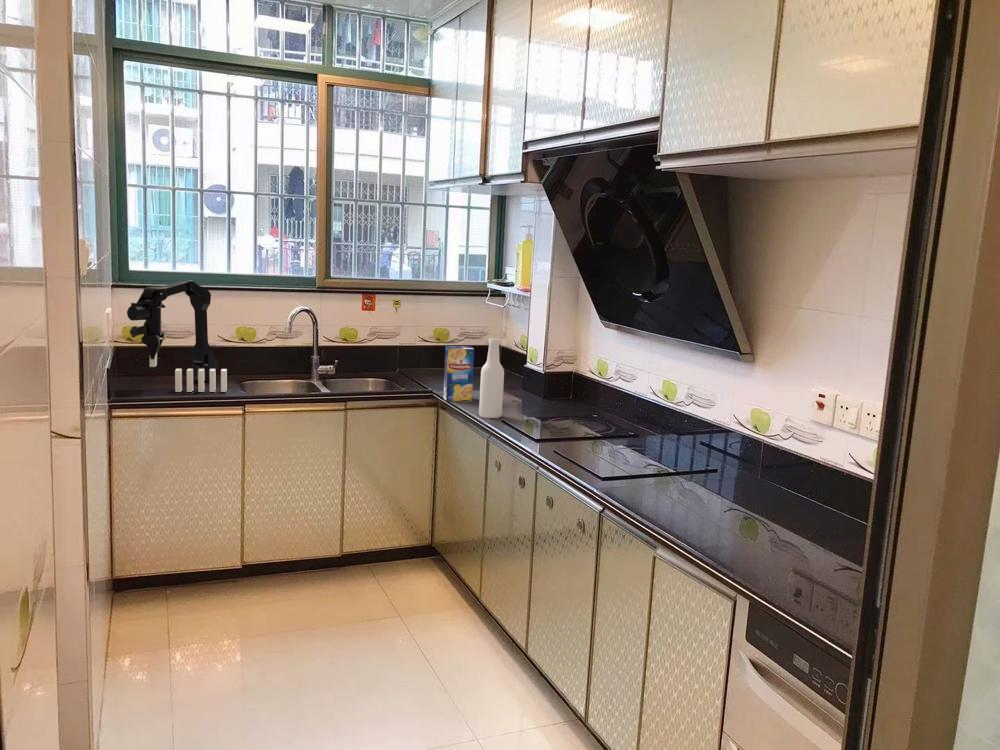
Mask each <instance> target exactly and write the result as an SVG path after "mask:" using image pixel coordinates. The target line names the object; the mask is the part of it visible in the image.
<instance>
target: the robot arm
mask: <svg viewBox="0 0 1000 750" xmlns="http://www.w3.org/2000/svg"><path fill="white" fill-rule="evenodd" d="M180 293H185V295H186V296H188V298H189V302H190V305H191V306H192V308H193V310H194V331H195V332H194V333H195V343H194V345H193V347H191V348H190V358H191V360H192V361H193V362H192V363H193V365H194V366H195V367H196V368H197V369H196V378H195V379H196V381H198V370H199V369H204V381H207V382H210V369H216V368H217V367H218V364H219V361H218V360H217V359H216V357H214V354H213V349H212V348H211V345H210V344H209V334H208V332H209V331H208V309H209V308H210V307H209V306H210V305H211V300H212V293H211V291H210V290H208V289H206V288H205V287H204V286H203V287H202V285H200V284H197V283H196V282H195V281H193V280H191V279H182V280H180V281H176V282H173V283H170V284H166V285H162V286H146V287H144V288H143V290H142V293H141V294H140V296H139V298H138V300H137V302H130V306H129V307H128V309H127V311H126V314H127V318H128V319H129V320H130V321H132V322H133V321H135V322H136V321H144V322H143V325H140V326H137V325H134V326H131V328H130V329H129V334H130V336H131V338H136V337H138V336H141V335H143V336H141V339H140V341H141V343H142V344H144V346H146V347H147V349H148V350H147V351H148V354H149V359H150V358H151V359H154V358H155V355H156V353H157V354H158V353H159V351H160V349H161V346H162V344H163V341H164V339H165V337H166V335H165V332H164V331H163V330H162V324H163V322H162V309H164V308H166V305H165V304H163V302H164V301H165V300H167V298H168V297H171V296H174V295H177V294H180Z"/></svg>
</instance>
